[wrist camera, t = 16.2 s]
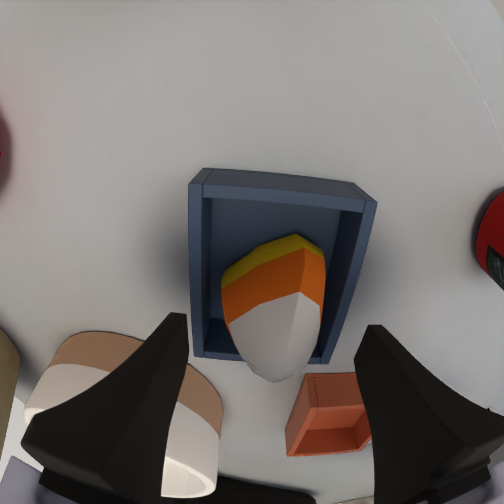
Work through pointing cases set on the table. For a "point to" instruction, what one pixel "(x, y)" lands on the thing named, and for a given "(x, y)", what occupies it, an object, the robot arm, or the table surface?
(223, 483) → the black hard case
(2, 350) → the plant pot
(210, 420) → the bowl
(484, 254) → the beverage can
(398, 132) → the table surface
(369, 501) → the lid
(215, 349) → the slate bin
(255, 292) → the candy corn
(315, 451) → the terracotta bin
